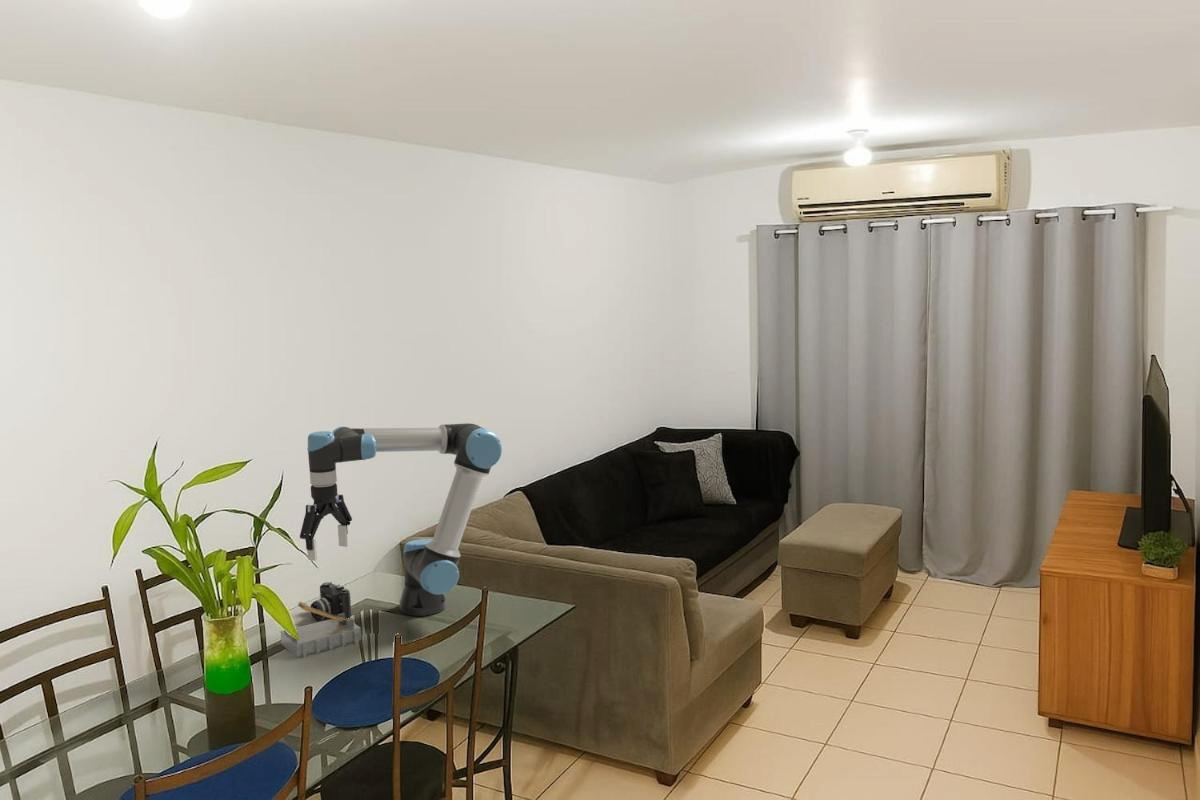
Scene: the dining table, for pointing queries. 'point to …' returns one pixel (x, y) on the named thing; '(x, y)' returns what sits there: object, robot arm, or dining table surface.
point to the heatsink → (321, 636)
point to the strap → (321, 612)
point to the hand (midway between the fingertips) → (328, 552)
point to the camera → (332, 601)
